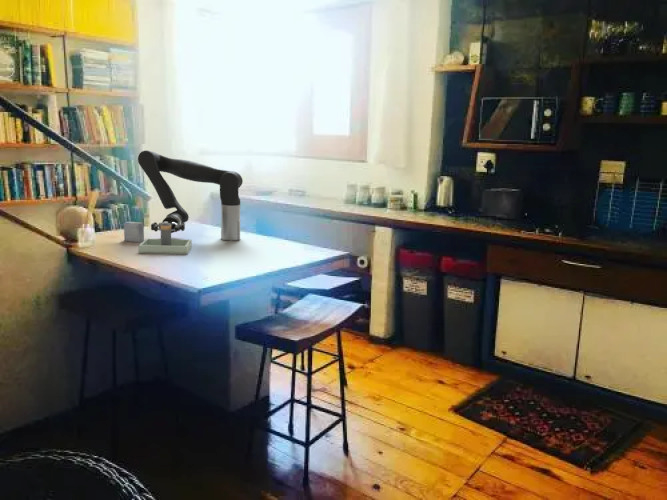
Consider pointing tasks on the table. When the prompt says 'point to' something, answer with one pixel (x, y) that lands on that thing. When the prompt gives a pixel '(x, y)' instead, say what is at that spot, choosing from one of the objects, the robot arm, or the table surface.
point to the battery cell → (166, 233)
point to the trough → (165, 247)
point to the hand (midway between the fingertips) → (165, 229)
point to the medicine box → (134, 231)
